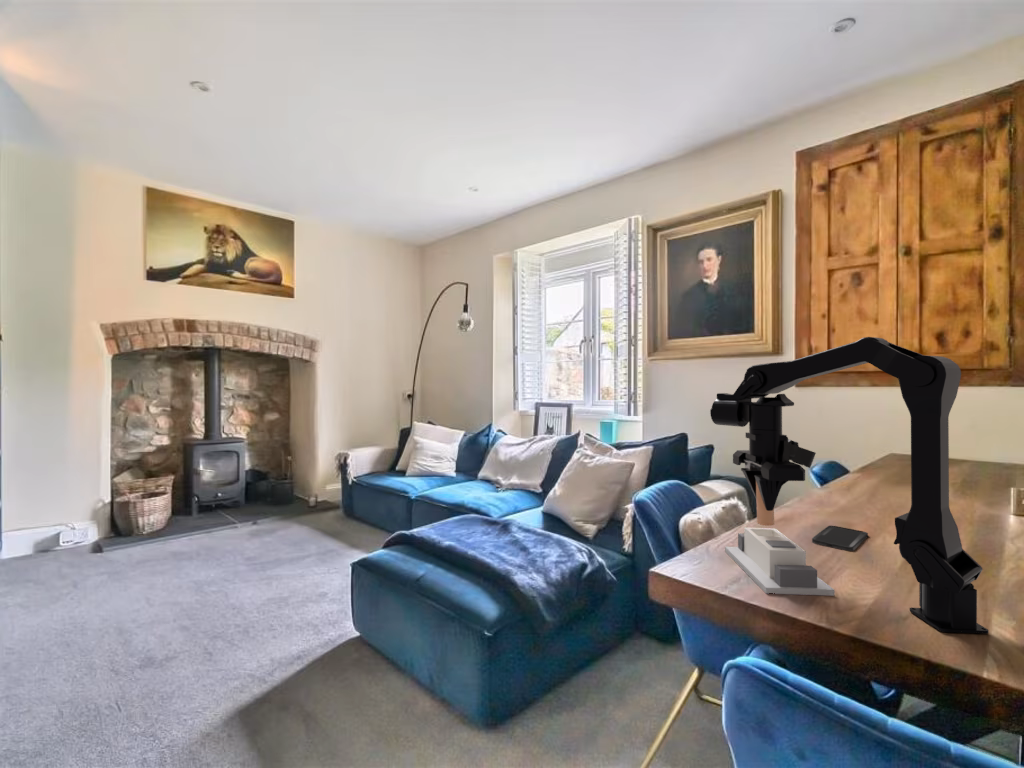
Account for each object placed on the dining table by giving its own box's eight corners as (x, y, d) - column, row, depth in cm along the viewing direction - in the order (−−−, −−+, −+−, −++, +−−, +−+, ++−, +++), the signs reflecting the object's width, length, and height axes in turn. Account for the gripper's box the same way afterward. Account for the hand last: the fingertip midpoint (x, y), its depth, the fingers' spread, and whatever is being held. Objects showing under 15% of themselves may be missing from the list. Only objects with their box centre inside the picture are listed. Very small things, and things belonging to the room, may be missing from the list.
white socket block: (805, 579, 85) (805, 549, 85) (769, 578, 85) (769, 548, 85) (775, 553, 97) (775, 527, 97) (744, 551, 98) (744, 526, 98)
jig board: (834, 595, 81) (834, 571, 80) (766, 593, 82) (766, 569, 82) (779, 552, 100) (779, 533, 100) (724, 551, 101) (724, 532, 101)
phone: (868, 532, 111) (852, 548, 101) (868, 537, 111) (852, 553, 101) (829, 524, 117) (810, 538, 107) (829, 529, 117) (810, 543, 107)
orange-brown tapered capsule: (777, 525, 93) (775, 478, 93) (761, 525, 93) (760, 479, 93) (769, 521, 96) (768, 475, 96) (754, 521, 96) (752, 476, 96)
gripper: (836, 434, 84) (836, 523, 84) (785, 424, 103) (786, 497, 103) (770, 434, 85) (770, 522, 85) (731, 424, 104) (732, 496, 104)
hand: (765, 508), depth 94 cm, fingers closed on orange-brown tapered capsule, 3 cm apart
